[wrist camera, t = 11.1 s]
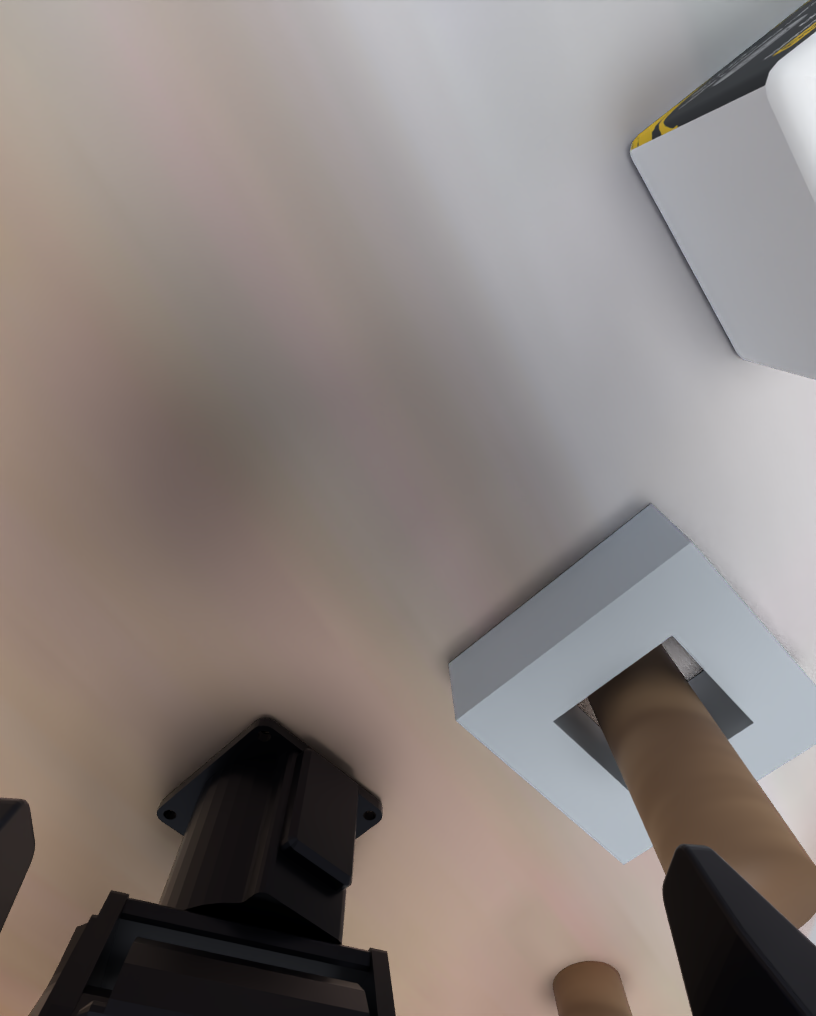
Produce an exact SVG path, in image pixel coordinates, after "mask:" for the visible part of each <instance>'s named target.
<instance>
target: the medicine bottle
mask: <svg viewBox="0 0 816 1016" xmlns="http://www.w3.org/2000/svg"><path fill="white" fill-rule="evenodd" d="M630 154H631V158H632V160H633V162H634V164H635V166H636V167H637V169H638V171H639V173H640V175H641V177H642V178H643V180H644V182H645V184H646V186H647V188H648V190H649V191H650V193H651V195H652V197H653V199H654V201H655V203H656V204H657V206H658V208H659V210H660V212H661V214H662V215H663V217H664V219H665V221H666V223H667V225H668V227H669V228H670V230H671V232H672V234H673V236H674V238H675V239H676V241H677V243H678V245H679V247H680V249H681V251H682V252H683V254H684V256H685V258H686V260H687V262H688V264H689V265H690V267H691V269H692V271H693V273H694V275H695V276H696V278H697V280H698V282H699V284H700V286H701V288H702V289H703V291H704V293H705V295H706V297H707V299H708V301H709V302H710V304H711V306H712V308H713V310H714V312H715V313H716V315H717V317H718V319H719V321H720V323H721V325H722V326H723V328H724V330H725V332H726V334H727V336H728V338H729V339H730V341H731V343H732V345H733V347H734V349H735V350H736V352H737V354H738V355H739V356H740V357H741V358H742V359H743V360H746V361H750V362H753V363H757V364H761V365H764V366H768V367H771V368H775V369H779V370H782V371H786V372H789V373H793V374H797V375H800V376H804V377H807V378H811V379H814V380H816V0H809V1H808V2H806V3H805V4H804V5H803V6H801V7H800V8H799V9H798V10H796V11H795V12H794V13H792V14H791V15H790V16H789V17H787V18H786V19H785V20H784V21H782V22H781V23H780V24H778V25H777V26H776V27H775V28H773V29H772V30H771V31H770V32H768V33H767V34H766V35H765V36H763V37H762V38H761V39H759V40H758V41H757V42H756V43H754V44H753V45H752V46H751V47H749V48H748V49H747V50H745V51H744V52H743V53H742V54H740V55H739V56H738V57H737V58H735V59H734V60H733V61H732V62H730V63H729V64H728V65H726V66H725V67H724V68H723V69H721V70H720V71H719V72H718V73H716V74H715V75H714V76H712V77H711V78H710V79H709V80H707V81H706V82H705V83H704V84H702V85H701V86H700V87H699V88H697V89H696V90H695V91H693V92H692V93H691V94H690V95H688V96H687V97H686V98H685V99H683V100H682V101H681V102H679V103H678V104H677V105H676V106H674V107H673V108H672V109H671V110H669V111H668V112H667V113H666V114H664V115H663V116H662V117H660V118H659V119H658V120H657V121H655V122H654V123H653V124H652V125H650V126H649V127H648V128H647V129H645V130H644V131H643V132H641V133H640V134H639V135H638V136H637V137H636V138H635V140H634V141H633V142H632V145H631V149H630Z"/></svg>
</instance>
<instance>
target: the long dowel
mask: <svg viewBox="0 0 816 1016" xmlns="http://www.w3.org/2000/svg"><path fill="white" fill-rule="evenodd" d="M587 697H588V699H589V702H590V704H591V706H592V709H593V711H594V713H595V715H596V718H597V720H598V722H599V724H600V727H601V729H602V731H603V734H604V736H605V738H606V740H607V743H608V745H609V747H610V749H611V752H612V754H613V756H614V759H615V761H616V763H617V765H618V768H619V770H620V772H621V774H622V777H623V779H624V781H625V784H626V786H627V788H628V790H629V793H630V795H631V797H632V799H633V802H634V804H635V806H636V808H637V811H638V813H639V815H640V818H641V820H642V822H643V824H644V827H645V829H646V831H647V833H648V836H649V838H650V840H651V843H652V845H653V847H654V849H655V852H656V854H657V856H658V858H659V861H660V863H661V865H662V868H663V870H664V872H665V874H667V871H668V868H669V866H670V863H671V860H672V857H673V855H674V852H675V850H676V848H677V847H678V846H679V845H680V844H694V845H705V846H708V847H710V848H711V849H713V850H714V851H715V852H716V853H717V854H718V855H719V856H720V857H721V858H723V859H724V860H725V861H726V862H727V863H728V864H729V865H730V866H731V867H732V868H733V869H734V870H735V871H736V872H737V873H739V874H740V875H741V876H742V877H743V878H744V879H745V880H746V881H747V882H748V883H749V884H750V885H751V886H752V887H753V888H755V889H756V890H757V891H758V892H759V893H760V894H761V895H762V896H763V897H764V898H765V899H766V900H767V901H768V902H769V903H771V904H772V905H773V906H774V907H775V908H776V909H777V910H778V911H779V912H780V913H781V914H782V915H783V916H784V917H785V918H786V919H788V920H789V921H790V922H791V923H792V924H793V925H794V926H795V927H796V928H797V929H799V928H800V927H802V926H803V925H804V924H805V923H806V922H807V921H809V920H810V919H811V917H812V916H813V915H814V914H815V913H816V866H815V864H814V863H813V862H812V860H811V859H810V857H809V856H808V854H807V853H806V851H805V850H804V849H803V847H802V846H801V844H800V843H799V841H798V840H797V839H796V837H795V836H794V834H793V833H792V831H791V830H790V828H789V827H788V826H787V824H786V823H785V821H784V820H783V818H782V817H781V816H780V814H779V813H778V811H777V810H776V808H775V807H774V805H773V804H772V803H771V801H770V800H769V798H768V797H767V795H766V794H765V793H764V791H763V790H762V788H761V787H760V785H759V784H758V782H757V781H756V780H755V778H754V777H753V775H752V774H751V772H750V771H749V770H748V768H747V767H746V765H745V764H744V762H743V761H742V759H741V758H740V757H739V755H738V754H737V752H736V751H735V749H734V748H733V747H732V745H731V744H730V742H729V741H728V739H727V738H726V736H725V735H724V734H723V732H722V731H721V729H720V728H719V726H718V725H717V724H716V722H715V721H714V719H713V718H712V716H711V715H710V713H709V712H708V711H707V709H706V708H705V706H704V705H703V703H702V702H701V701H700V699H699V698H698V696H697V695H696V693H695V692H694V690H693V689H692V688H691V686H690V685H689V683H688V682H687V680H686V679H685V678H684V676H683V675H682V673H681V672H680V670H679V669H678V667H677V666H676V665H675V663H674V662H673V660H672V659H671V657H670V656H669V655H668V653H667V652H666V650H665V649H664V647H663V646H662V644H660V645H658V646H657V647H655V648H654V649H653V650H651V651H650V652H649V653H647V654H646V655H644V656H643V657H642V658H640V659H639V660H637V661H636V662H635V663H633V664H632V665H630V666H629V667H628V668H626V669H625V670H624V671H622V672H621V673H619V674H618V675H617V676H615V677H614V678H612V679H611V680H610V681H608V682H607V683H606V684H604V685H603V686H601V687H600V688H599V689H597V690H596V691H594V692H593V693H592V694H590V695H589V696H587Z"/></svg>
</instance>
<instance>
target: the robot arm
mask: <svg viewBox="0 0 816 1016" xmlns="http://www.w3.org/2000/svg"><path fill="white" fill-rule="evenodd" d="M261 731H267V732H269V734H264V733H261ZM171 810H172V811H171ZM382 810H383V807H382V803H381V802H380V801H379V800H378V799H376V798H375V797H374V796H372V795H371V794H370V793H368V792H367V791H366V790H365V789H363V788H362V787H361V786H359V785H358V784H357V783H356V782H354V781H353V780H352V779H351V778H349V777H348V776H347V775H345V774H344V773H343V772H341V771H340V770H339V769H337V768H336V767H335V766H334V765H332V764H331V763H330V762H328V761H327V760H326V759H324V758H323V757H322V756H320V755H319V754H318V753H317V752H315V751H314V750H312V749H311V748H310V747H308V746H307V745H306V744H304V743H303V742H302V741H300V740H299V739H298V738H297V737H295V736H294V735H293V734H291V733H290V732H289V731H287V730H286V729H285V728H283V727H282V726H281V725H280V724H278V723H277V722H276V721H274V720H272V719H269V718H261V719H259V720H257V721H255V722H254V723H253V724H252V725H251V726H249V727H248V728H247V729H246V730H245V731H244V732H242V733H241V734H240V735H239V736H238V737H236V738H235V739H234V740H233V741H232V742H231V743H229V744H228V745H227V746H226V747H225V748H224V749H222V750H221V751H220V752H219V753H218V754H216V755H215V756H214V757H213V758H212V759H211V760H209V761H208V762H207V763H206V764H205V765H203V766H202V767H201V768H200V769H199V770H198V771H196V772H195V773H194V774H193V775H192V776H190V777H189V778H188V779H187V780H186V781H185V782H183V783H182V784H181V785H180V786H179V787H178V788H176V789H175V790H174V791H173V792H172V793H170V794H169V795H168V796H167V797H166V798H165V799H163V801H162V802H161V804H160V806H159V808H158V811H157V816H158V818H159V819H160V820H161V821H162V822H163V823H165V824H166V825H168V826H169V827H171V828H172V829H174V830H176V831H177V832H179V833H180V834H182V835H183V836H184V837H183V840H182V843H181V845H180V848H179V851H178V853H177V856H176V859H175V861H174V864H173V867H172V869H171V872H170V875H169V878H168V880H167V883H166V886H165V888H164V891H163V894H162V896H161V899H160V902H159V904H154V903H150V902H145V901H141V900H136V899H132V898H129V894H126V893H121V892H117V891H112V890H111V892H110V894H109V895H108V897H107V899H106V901H105V903H104V905H103V907H102V909H101V911H100V913H99V915H92V916H91V918H90V920H89V922H88V923H86V924H84V925H81V926H78V927H77V928H76V930H75V932H74V934H73V936H72V938H71V940H70V942H69V944H68V946H67V948H66V951H65V953H64V955H63V957H62V959H61V961H60V963H59V965H58V967H57V969H56V971H55V973H54V975H53V977H52V979H51V981H50V982H49V984H48V986H47V988H46V989H45V991H44V993H43V994H42V996H41V997H40V999H39V1000H38V1002H37V1003H36V1005H35V1006H34V1008H33V1009H32V1011H31V1012H30V1014H29V1015H28V1016H396V1015H395V1007H394V1000H393V992H392V985H391V977H390V970H389V962H388V955H387V951H383V950H378V949H374V948H370V949H369V950H368V951H367V950H363V949H358V948H354V947H349V946H345V945H342V937H343V925H344V912H345V900H346V888H347V887H348V886H350V885H351V883H352V876H353V862H354V848H355V839H356V838H358V837H359V836H361V835H362V834H363V833H365V832H366V831H367V830H369V829H370V828H371V827H373V826H374V825H375V824H377V823H378V822H379V821H380V820H381V819H382ZM367 811H373V812H367ZM34 850H35V839H34V832H33V825H32V819H31V812H30V807H29V804H28V803H27V801H26V800H23V799H13V798H0V932H1V930H2V928H3V925H4V923H5V921H6V919H7V916H8V914H9V912H10V909H11V907H12V905H13V903H14V900H15V898H16V896H17V893H18V891H19V889H20V887H21V884H22V882H23V880H24V878H25V875H26V873H27V871H28V868H29V866H30V864H31V861H32V858H33V855H34ZM662 891H663V901H664V906H665V910H666V914H667V918H668V922H669V925H670V929H671V933H672V937H673V941H674V945H675V949H676V953H677V957H678V961H679V965H680V969H681V973H682V977H683V981H684V985H685V989H686V993H687V996H688V1000H689V1004H690V1008H691V1012H692V1015H693V1016H816V946H815V945H814V944H813V943H812V942H811V941H810V940H809V939H808V938H807V937H806V936H805V935H804V934H802V933H801V932H800V931H799V930H798V929H797V928H796V927H795V926H794V925H793V924H792V923H791V922H790V921H789V920H788V919H786V918H785V917H784V916H783V915H782V914H781V913H780V912H779V911H778V910H777V909H776V908H775V907H774V906H773V905H772V904H771V903H769V902H768V901H767V900H766V899H765V898H764V897H763V896H762V895H761V894H760V893H759V892H758V891H757V890H756V889H755V888H753V887H752V886H751V885H750V884H749V883H748V882H747V881H746V880H745V879H744V878H743V877H742V876H741V875H740V874H739V873H737V872H736V871H735V870H734V869H733V868H732V867H731V866H730V865H729V864H728V863H727V862H726V861H725V860H724V859H723V858H721V857H720V856H719V855H718V854H717V853H716V852H715V851H714V850H713V849H711V848H710V847H708V846H705V845H694V844H680V845H679V846H678V847H677V848H676V850H675V852H674V855H673V857H672V860H671V863H670V866H669V868H668V871H667V874H666V876H665V879H664V882H663V889H662Z"/></svg>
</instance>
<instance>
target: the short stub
mask: <svg viewBox="0 0 816 1016" xmlns="http://www.w3.org/2000/svg"><path fill="white" fill-rule="evenodd" d="M553 990H554V995H555V1000H556V1004H557V1009H558V1014H559V1016H632V1013H631V1010H630V1007H629V1004H628V1001H627V997H626V994H625V991H624V988H623V985H622V981H621V978H620V975H619V973H618V971H617V970H616V969H615V968H614V967H612V966H610V965H608V964H606V963H603V962H598V961H585V962H579V963H575V964H572V965H570V966H568V967H566V968H564V969H563V970H562V971H560V972H559V973H558V974H557V976H556V977H555V979H554V982H553Z"/></svg>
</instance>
